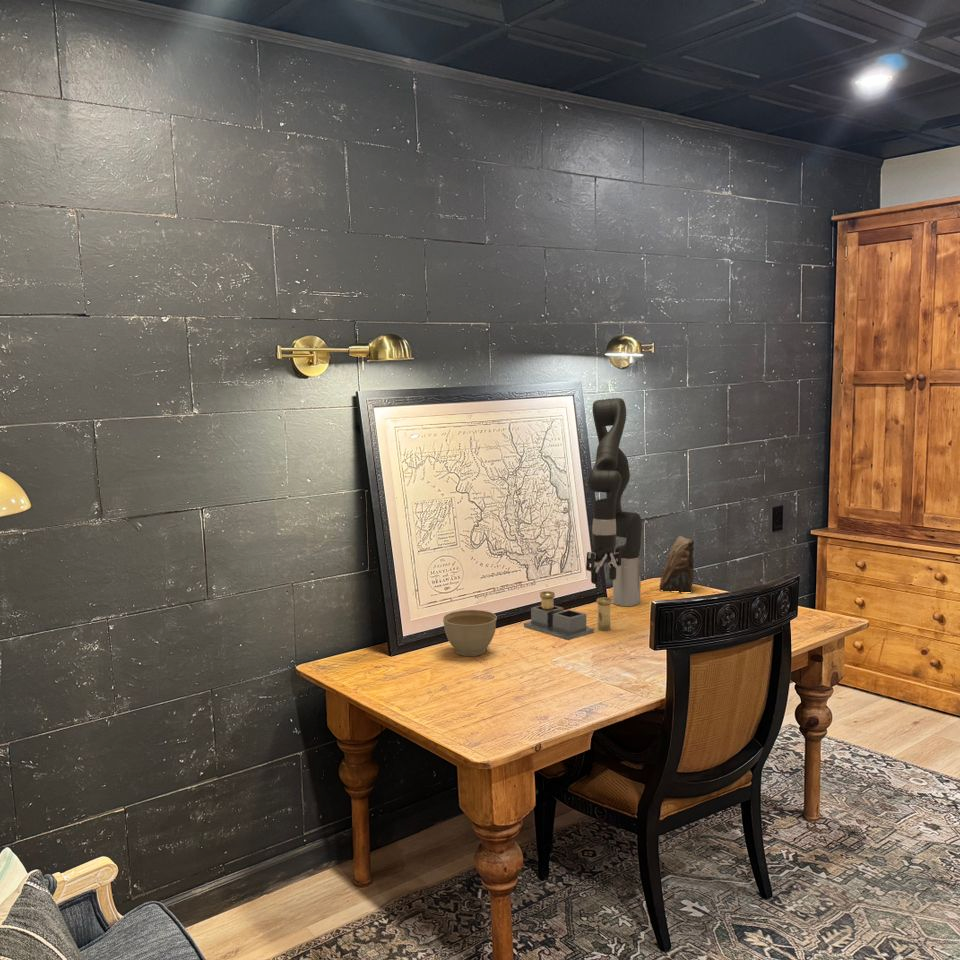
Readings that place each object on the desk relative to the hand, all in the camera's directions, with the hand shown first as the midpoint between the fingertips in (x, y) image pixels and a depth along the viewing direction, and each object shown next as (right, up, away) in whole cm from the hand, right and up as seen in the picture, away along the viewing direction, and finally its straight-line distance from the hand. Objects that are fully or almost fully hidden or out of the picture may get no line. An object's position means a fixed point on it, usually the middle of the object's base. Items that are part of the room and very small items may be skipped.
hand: (603, 581), depth 293 cm
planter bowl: (-43, -19, -20) cm, 51 cm away
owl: (+34, -9, +52) cm, 63 cm away
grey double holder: (-15, -16, +2) cm, 22 cm away
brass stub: (0, -16, +2) cm, 16 cm away
